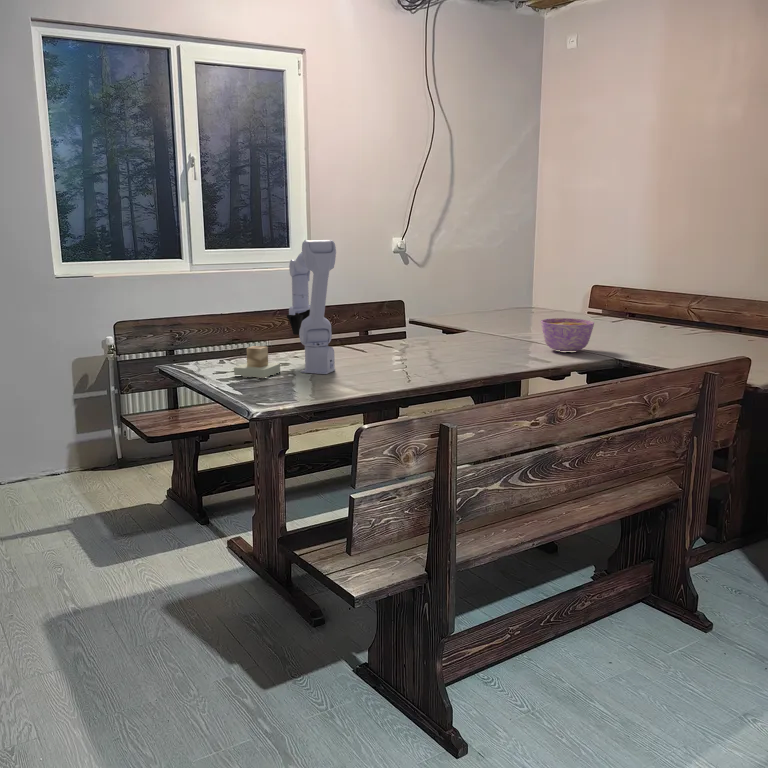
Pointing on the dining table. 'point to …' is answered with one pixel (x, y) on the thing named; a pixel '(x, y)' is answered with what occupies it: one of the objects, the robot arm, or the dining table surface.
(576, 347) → the bowl of food
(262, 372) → the sage slab
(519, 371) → the dining table surface
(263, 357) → the maple block
